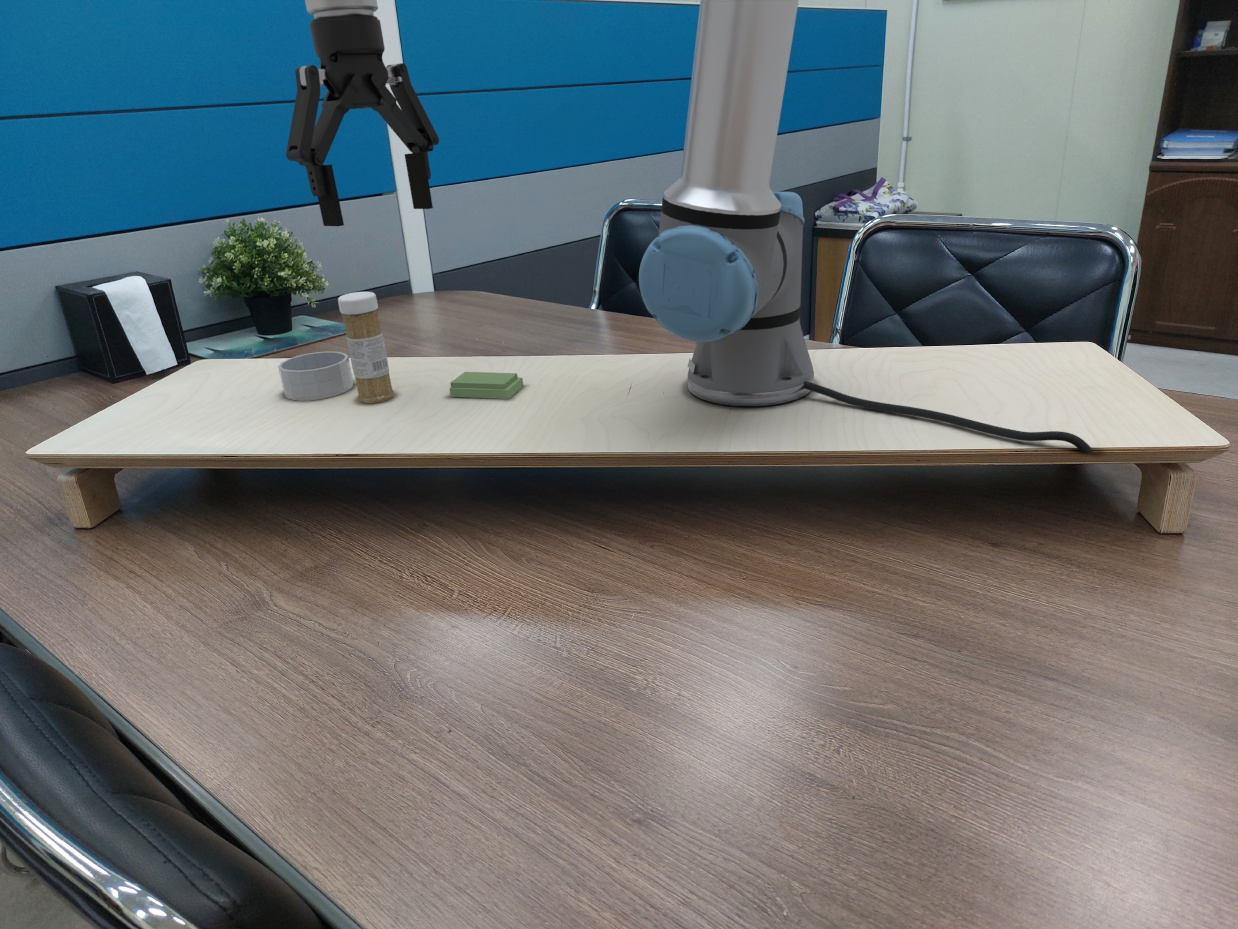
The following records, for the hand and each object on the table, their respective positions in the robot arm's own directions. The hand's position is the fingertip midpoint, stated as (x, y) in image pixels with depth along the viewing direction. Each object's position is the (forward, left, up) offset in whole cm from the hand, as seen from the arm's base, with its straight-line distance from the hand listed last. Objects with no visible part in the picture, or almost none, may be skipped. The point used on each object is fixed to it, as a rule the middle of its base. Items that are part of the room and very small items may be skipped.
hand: (380, 217), depth 100 cm
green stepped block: (-10, -1, -22) cm, 25 cm away
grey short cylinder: (+14, 0, -22) cm, 26 cm away
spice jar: (+4, +2, -22) cm, 23 cm away
